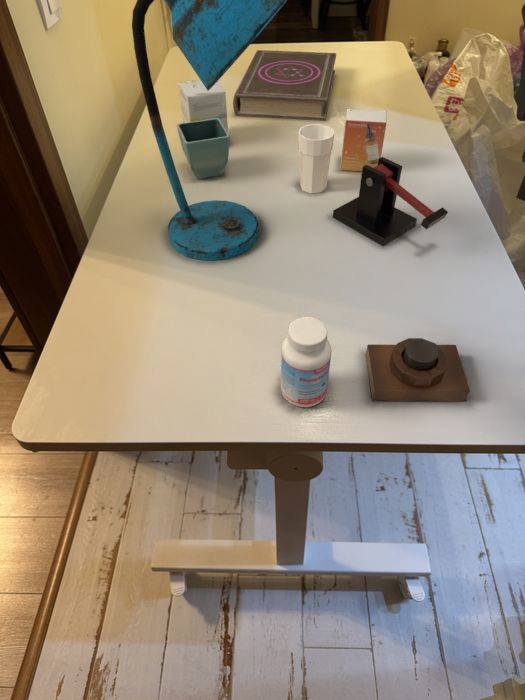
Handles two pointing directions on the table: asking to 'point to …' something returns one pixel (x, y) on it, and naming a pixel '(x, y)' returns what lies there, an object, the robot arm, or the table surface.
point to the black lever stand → (376, 206)
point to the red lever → (413, 200)
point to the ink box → (202, 102)
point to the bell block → (415, 375)
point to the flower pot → (205, 146)
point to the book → (286, 85)
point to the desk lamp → (210, 65)
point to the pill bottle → (305, 362)
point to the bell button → (420, 355)
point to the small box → (362, 139)
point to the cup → (315, 156)
